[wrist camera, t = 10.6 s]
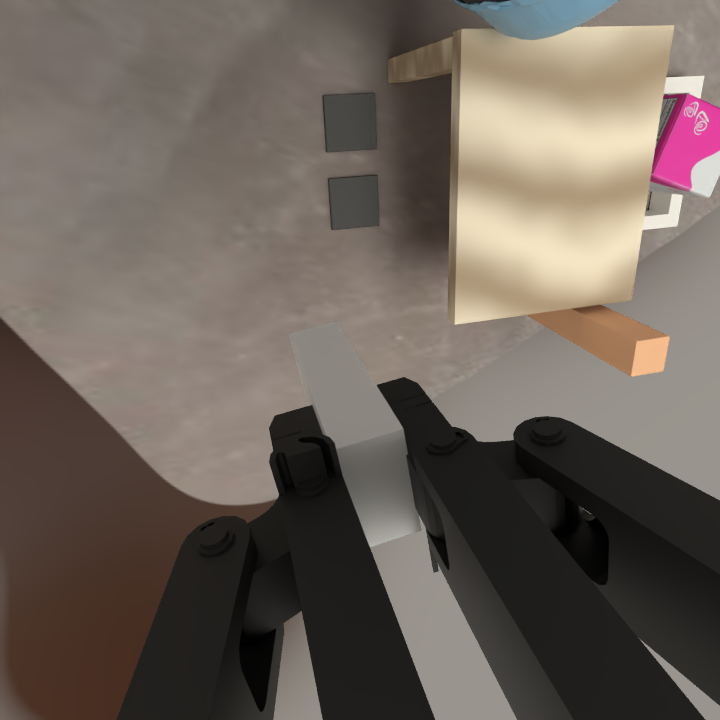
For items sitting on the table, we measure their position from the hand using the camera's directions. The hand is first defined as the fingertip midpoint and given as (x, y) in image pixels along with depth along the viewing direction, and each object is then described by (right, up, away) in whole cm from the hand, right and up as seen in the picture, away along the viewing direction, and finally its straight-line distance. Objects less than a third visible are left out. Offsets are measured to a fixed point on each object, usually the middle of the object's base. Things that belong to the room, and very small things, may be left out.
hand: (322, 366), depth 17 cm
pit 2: (+1, +13, +28) cm, 31 cm away
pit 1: (0, +19, +26) cm, 32 cm away
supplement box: (+22, +19, +32) cm, 43 cm away
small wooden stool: (+10, +16, +30) cm, 35 cm away
